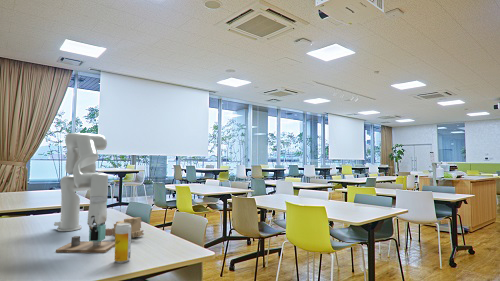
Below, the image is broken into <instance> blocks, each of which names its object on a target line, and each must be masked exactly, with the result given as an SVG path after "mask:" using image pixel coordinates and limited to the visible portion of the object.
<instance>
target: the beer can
mask: <svg viewBox="0 0 500 281" xmlns="http://www.w3.org/2000/svg"><path fill="white" fill-rule="evenodd" d="M114 237H115V238H114V242H115V246H114V261H115V263H117V264H125V263H128V262H129V261H130V260H131V253H132V252H131V251H132V250H131V249H132V248H131V246H132V245H131V244H132V238H131V225H130V223H120V224H117V226H116V230H115V236H114Z"/></svg>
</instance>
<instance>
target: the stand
mask: <svg viewBox="0 0 500 281" xmlns="http://www.w3.org/2000/svg"><path fill="white" fill-rule="evenodd" d="M70 240H71V241H70V242H69V243H67V244H64V245H62V246H60V247H58V248H57V249H55V253H77V254H78V252H80V253H85V254H86V253H92V254H93V253H95V254H96V253H97V254H99V253H100V254H101V253H102V254H104V253H107V252H108V251H110V250H112V249H113V248H115V241H101V245H100V246H93V241H89V240H88V241H86V240H85V241H81V236H80V235H74V236H71V239H70Z"/></svg>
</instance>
